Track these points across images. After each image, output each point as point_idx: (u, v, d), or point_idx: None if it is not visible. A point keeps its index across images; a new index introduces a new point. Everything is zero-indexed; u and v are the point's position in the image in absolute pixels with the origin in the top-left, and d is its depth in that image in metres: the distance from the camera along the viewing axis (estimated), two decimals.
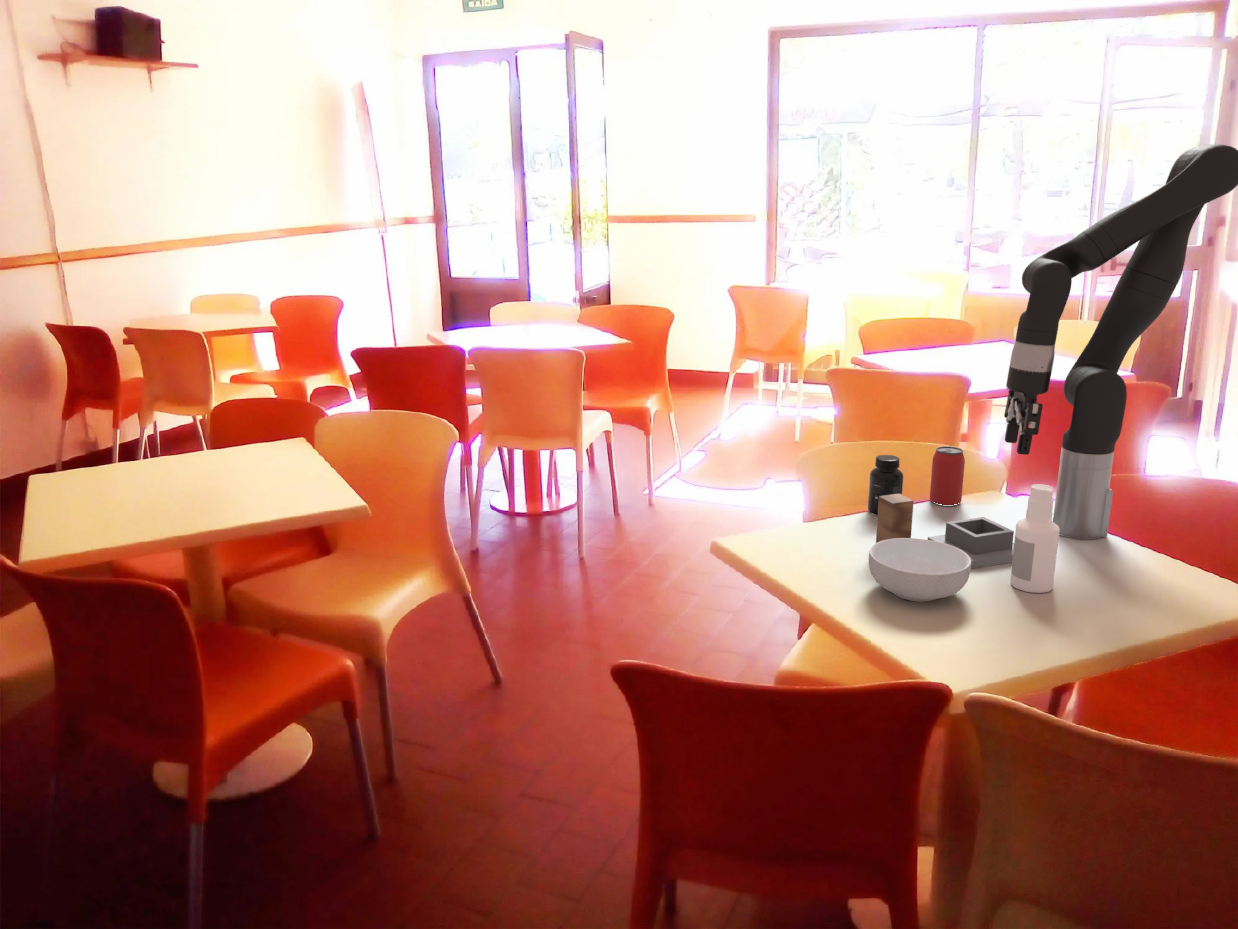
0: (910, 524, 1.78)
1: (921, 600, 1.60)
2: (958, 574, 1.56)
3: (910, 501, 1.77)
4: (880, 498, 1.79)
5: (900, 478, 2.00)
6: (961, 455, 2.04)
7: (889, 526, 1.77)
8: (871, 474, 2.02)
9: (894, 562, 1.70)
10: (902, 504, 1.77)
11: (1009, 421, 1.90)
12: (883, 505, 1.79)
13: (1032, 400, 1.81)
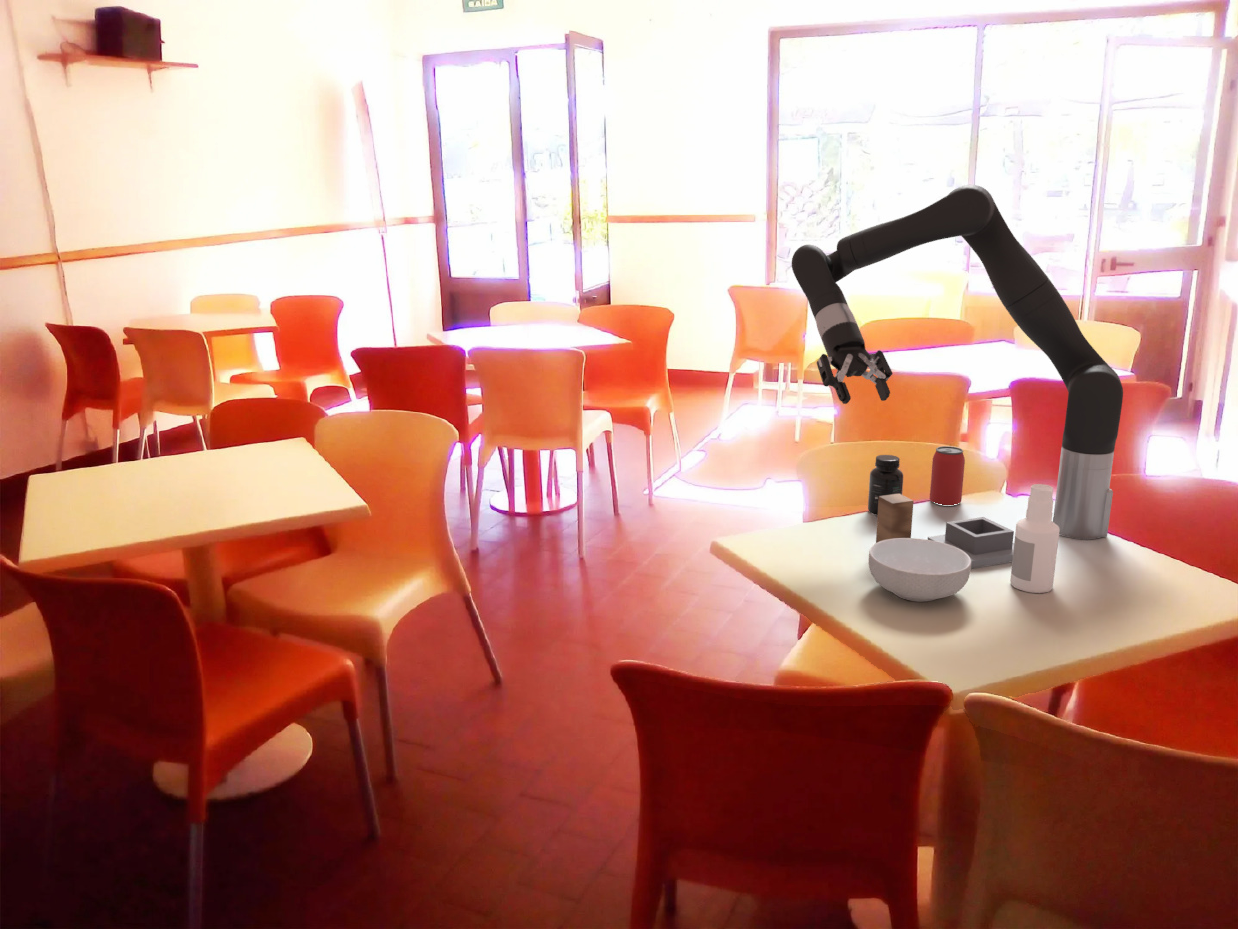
0: (910, 524, 1.78)
1: (921, 600, 1.60)
2: (958, 574, 1.56)
3: (910, 501, 1.77)
4: (880, 498, 1.79)
5: (900, 478, 2.00)
6: (961, 455, 2.04)
7: (889, 526, 1.77)
8: (871, 474, 2.02)
9: (894, 562, 1.70)
10: (902, 504, 1.77)
11: (875, 382, 1.88)
12: (883, 505, 1.79)
13: None
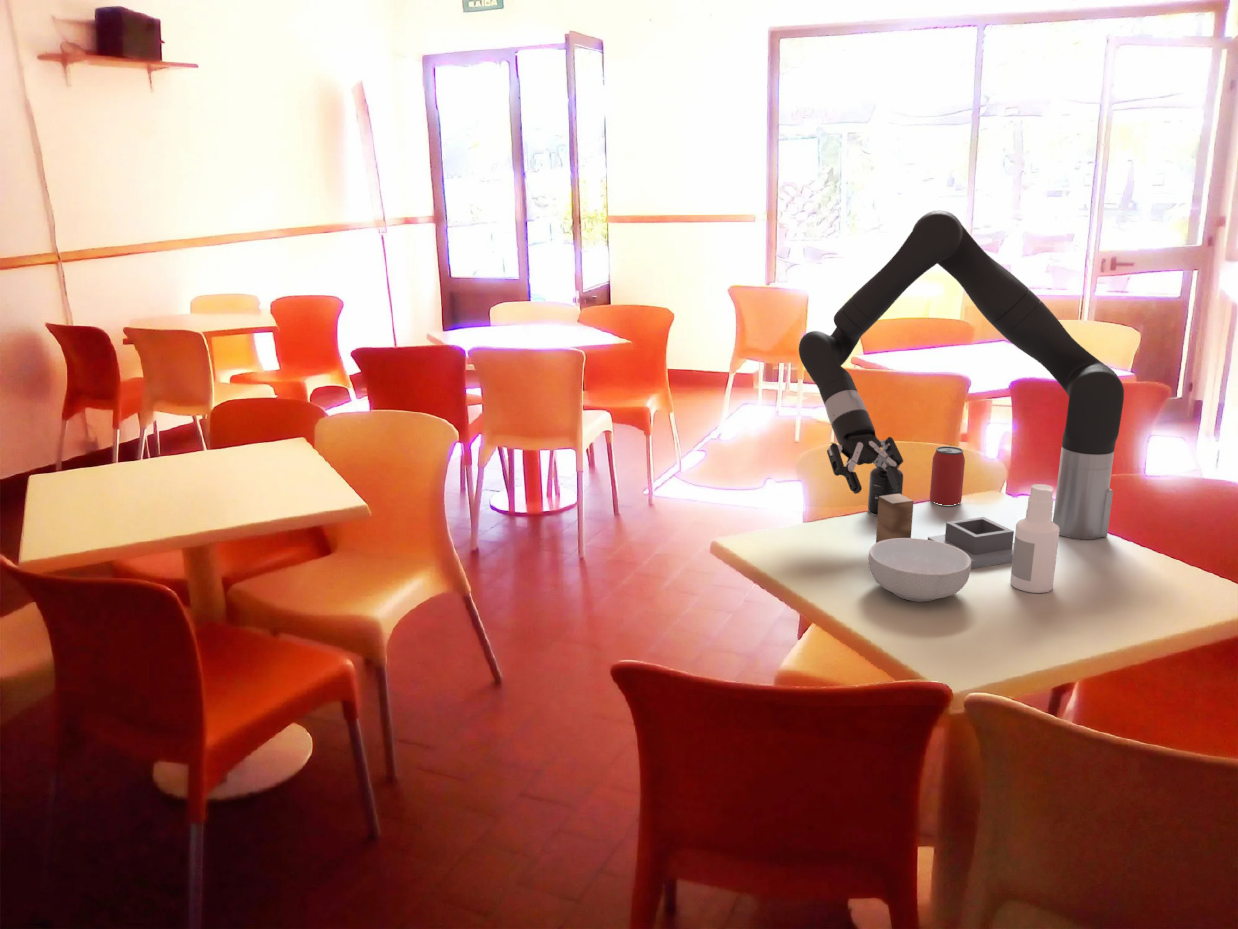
0: (910, 524, 1.78)
1: (921, 600, 1.60)
2: (958, 574, 1.56)
3: (910, 501, 1.77)
4: (880, 498, 1.79)
5: None
6: (961, 455, 2.04)
7: (889, 526, 1.77)
8: (871, 474, 2.02)
9: (894, 562, 1.70)
10: (902, 504, 1.77)
11: (886, 470, 1.88)
12: (883, 505, 1.79)
13: None
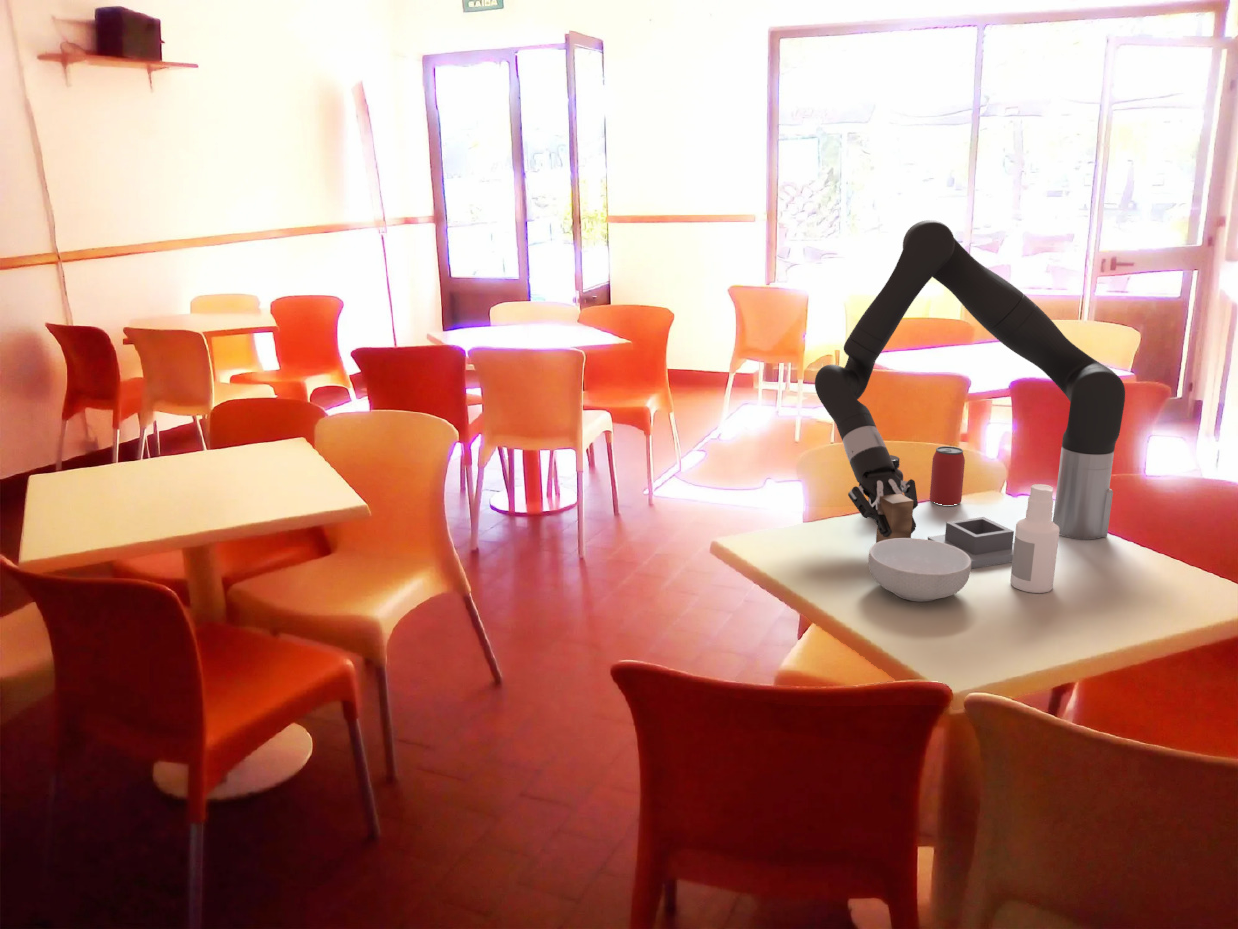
0: (910, 524, 1.78)
1: (921, 600, 1.60)
2: (958, 574, 1.56)
3: (910, 501, 1.77)
4: (880, 498, 1.79)
5: (900, 478, 2.00)
6: (961, 455, 2.04)
7: None
8: None
9: (894, 562, 1.70)
10: (902, 504, 1.77)
11: None
12: (883, 505, 1.79)
13: None
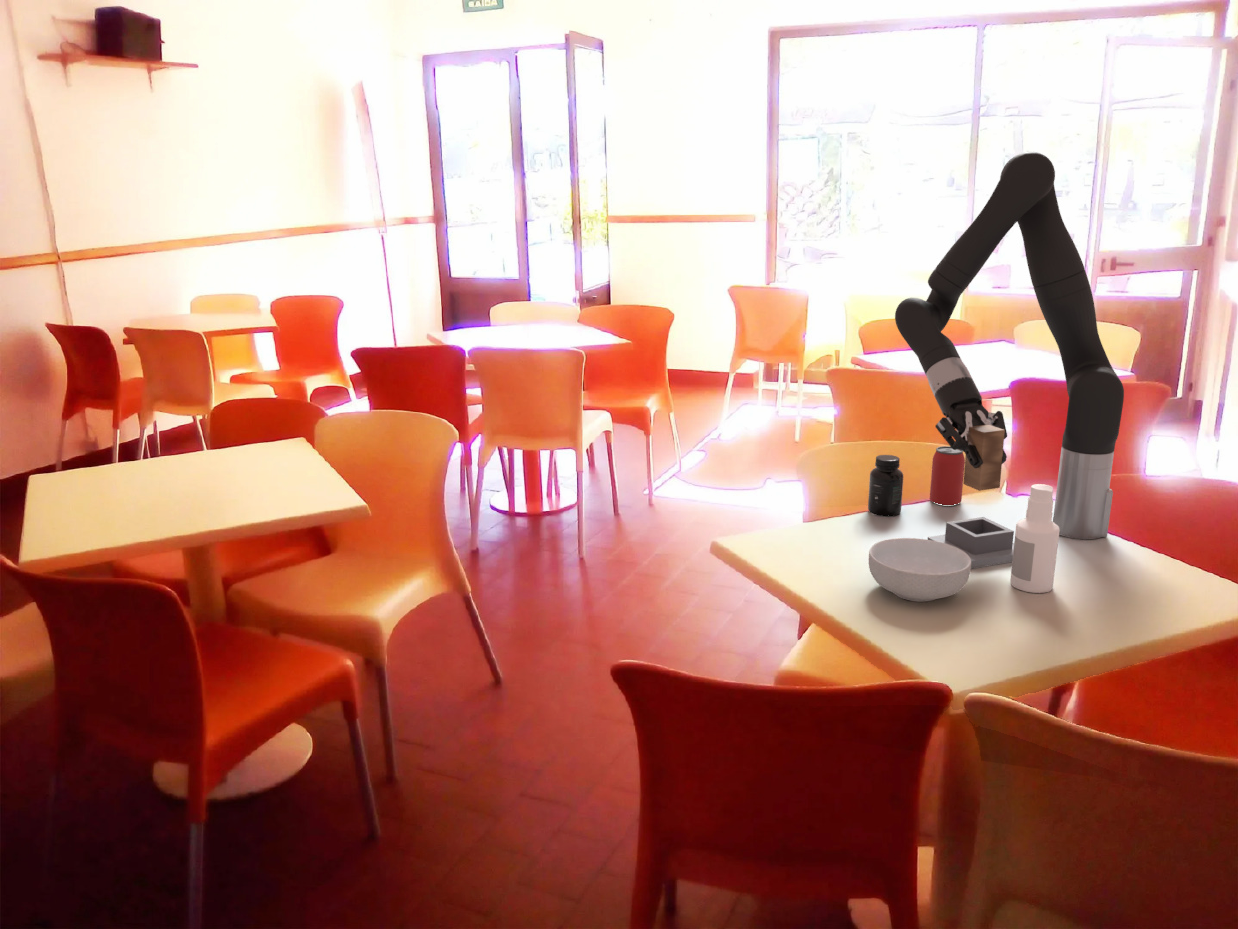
0: (1001, 454, 1.75)
1: (921, 600, 1.60)
2: (958, 574, 1.56)
3: (1001, 430, 1.73)
4: (969, 428, 1.76)
5: (900, 478, 2.00)
6: (961, 455, 2.04)
7: (980, 456, 1.74)
8: (871, 474, 2.02)
9: (894, 562, 1.70)
10: (994, 433, 1.73)
11: None
12: (973, 435, 1.75)
13: (949, 415, 1.78)
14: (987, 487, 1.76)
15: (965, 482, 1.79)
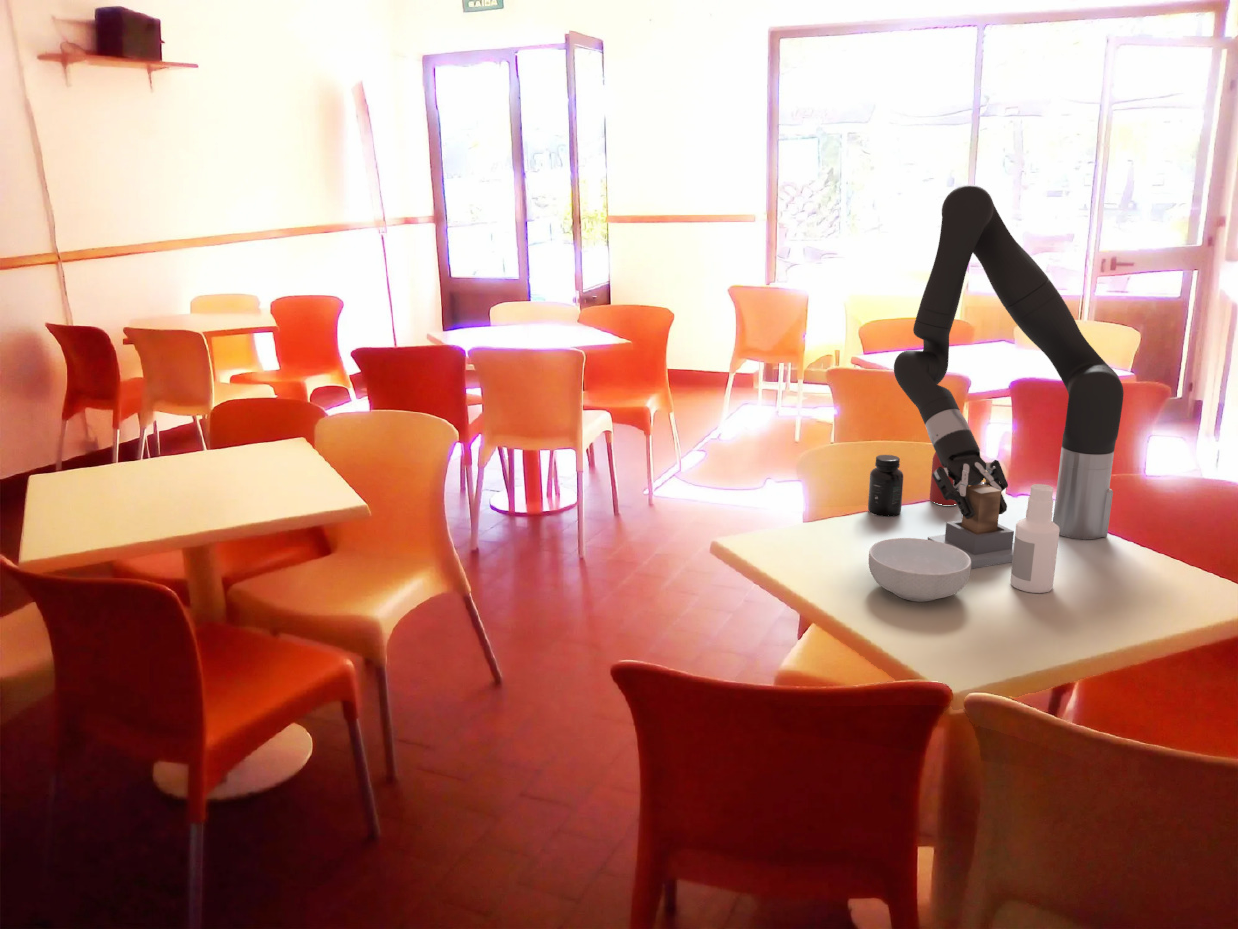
0: (997, 514, 1.78)
1: (921, 600, 1.60)
2: (958, 574, 1.56)
3: (998, 491, 1.77)
4: (966, 488, 1.79)
5: (900, 478, 2.00)
6: None
7: (977, 516, 1.77)
8: (871, 474, 2.02)
9: (894, 562, 1.70)
10: (990, 494, 1.76)
11: None
12: (970, 495, 1.78)
13: None
14: None
15: None
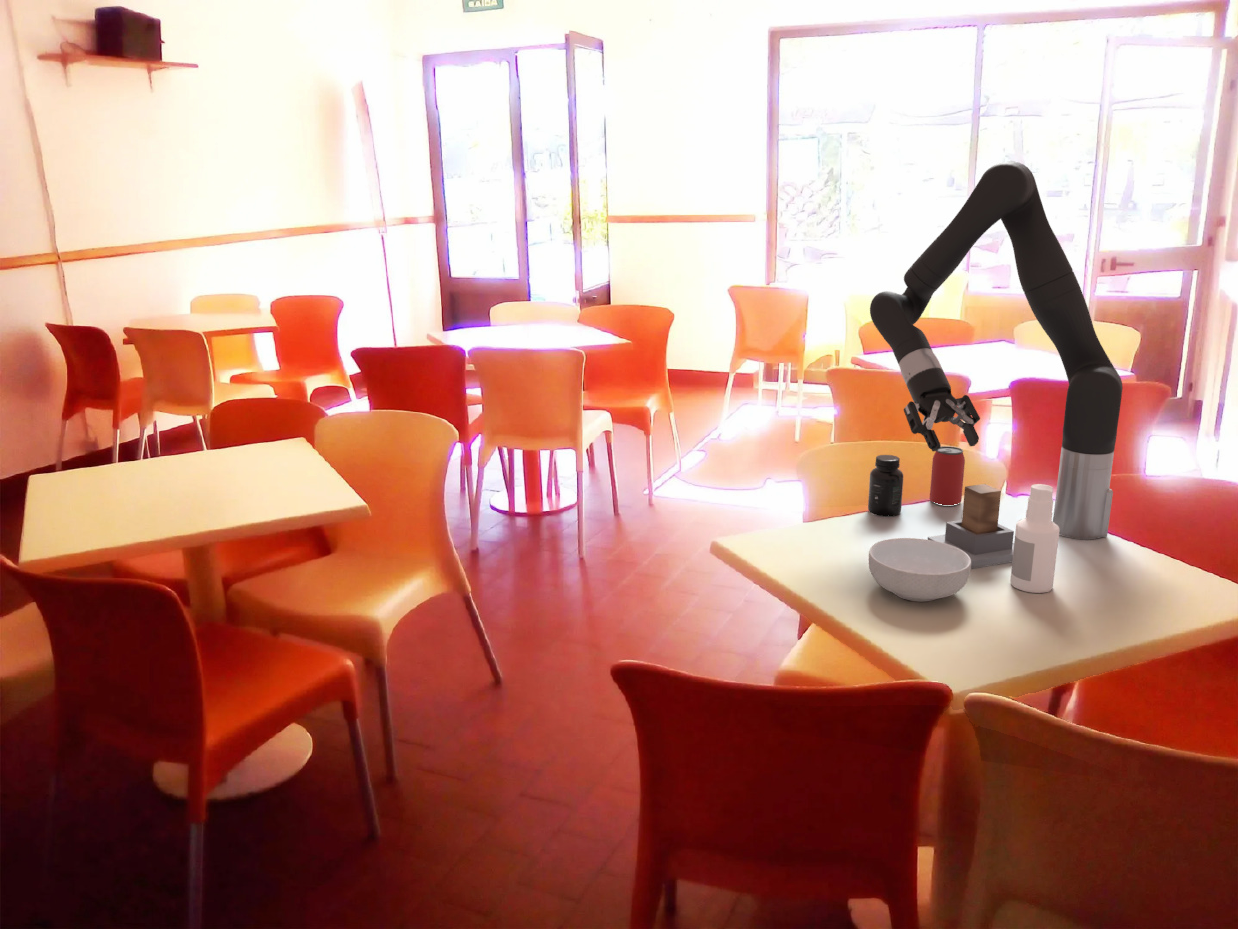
0: (997, 514, 1.78)
1: (921, 600, 1.60)
2: (958, 574, 1.56)
3: (998, 491, 1.77)
4: (966, 488, 1.79)
5: (900, 478, 2.00)
6: (961, 455, 2.04)
7: (977, 516, 1.77)
8: (871, 474, 2.02)
9: (894, 562, 1.70)
10: (990, 494, 1.76)
11: (962, 428, 1.88)
12: (970, 495, 1.78)
13: None
14: None
15: None
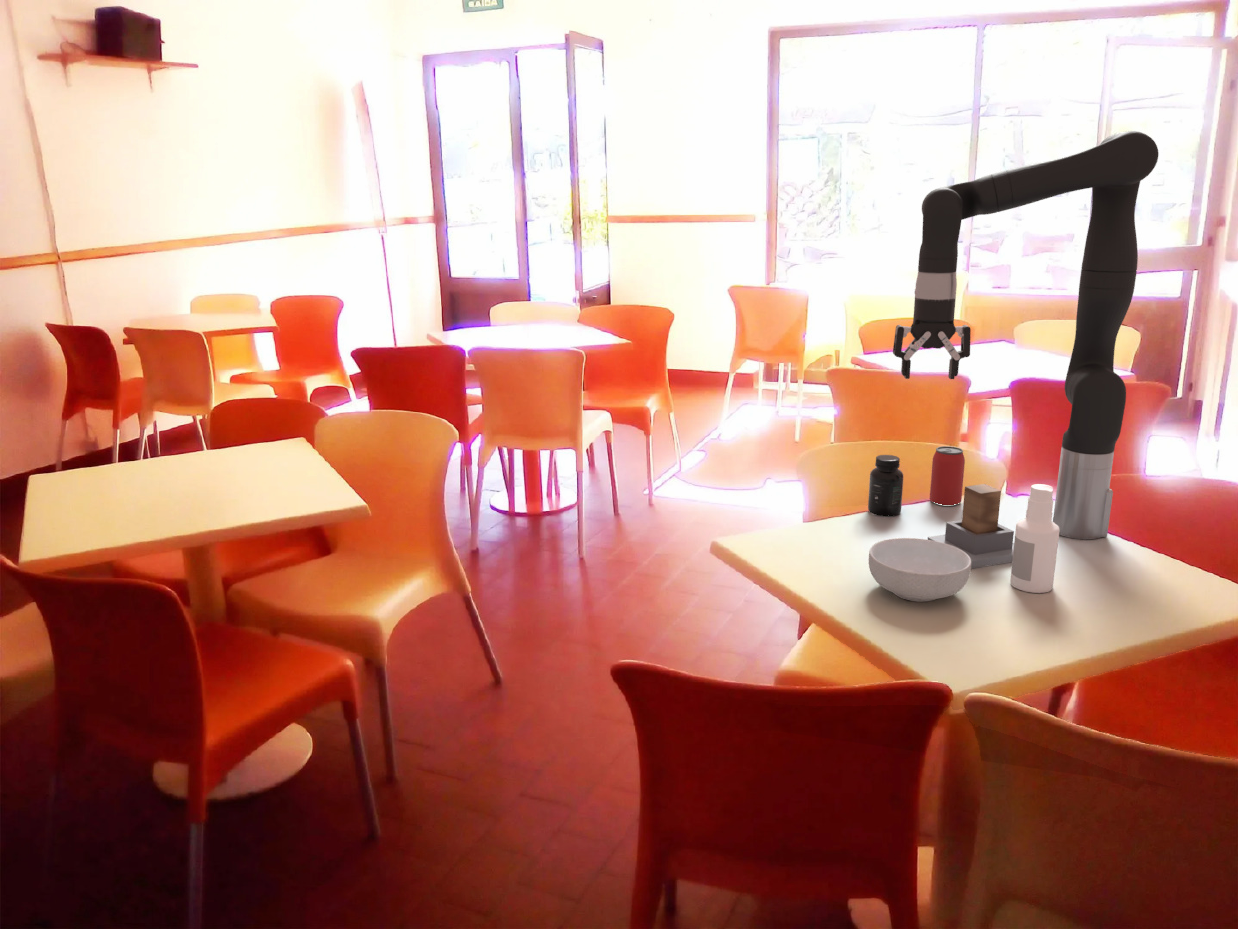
0: (997, 514, 1.78)
1: (921, 600, 1.60)
2: (958, 574, 1.56)
3: (998, 491, 1.77)
4: (966, 488, 1.79)
5: (900, 478, 2.00)
6: (961, 455, 2.04)
7: (977, 516, 1.77)
8: (871, 474, 2.02)
9: (894, 562, 1.70)
10: (990, 494, 1.76)
11: (951, 356, 1.88)
12: (970, 495, 1.78)
13: None
14: None
15: None
